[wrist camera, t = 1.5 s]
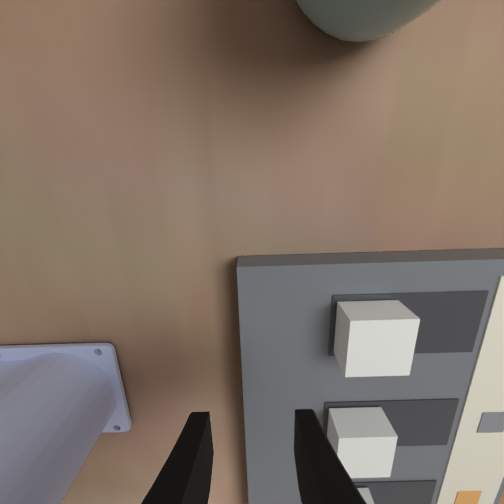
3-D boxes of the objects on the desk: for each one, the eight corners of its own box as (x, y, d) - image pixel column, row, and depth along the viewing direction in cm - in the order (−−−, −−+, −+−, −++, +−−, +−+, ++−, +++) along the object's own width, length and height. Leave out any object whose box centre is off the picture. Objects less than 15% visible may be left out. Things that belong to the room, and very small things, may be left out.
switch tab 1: (333, 352, 16) (345, 377, 14) (337, 301, 15) (350, 321, 13) (389, 350, 16) (409, 375, 14) (397, 300, 14) (420, 318, 13)
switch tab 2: (326, 446, 18) (335, 478, 16) (328, 408, 17) (339, 438, 15) (375, 444, 18) (389, 477, 16) (381, 407, 17) (397, 436, 15)
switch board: (250, 504, 23) (250, 536, 21) (238, 255, 16) (236, 268, 14) (468, 498, 23) (490, 530, 21) (553, 246, 16) (598, 257, 14)
